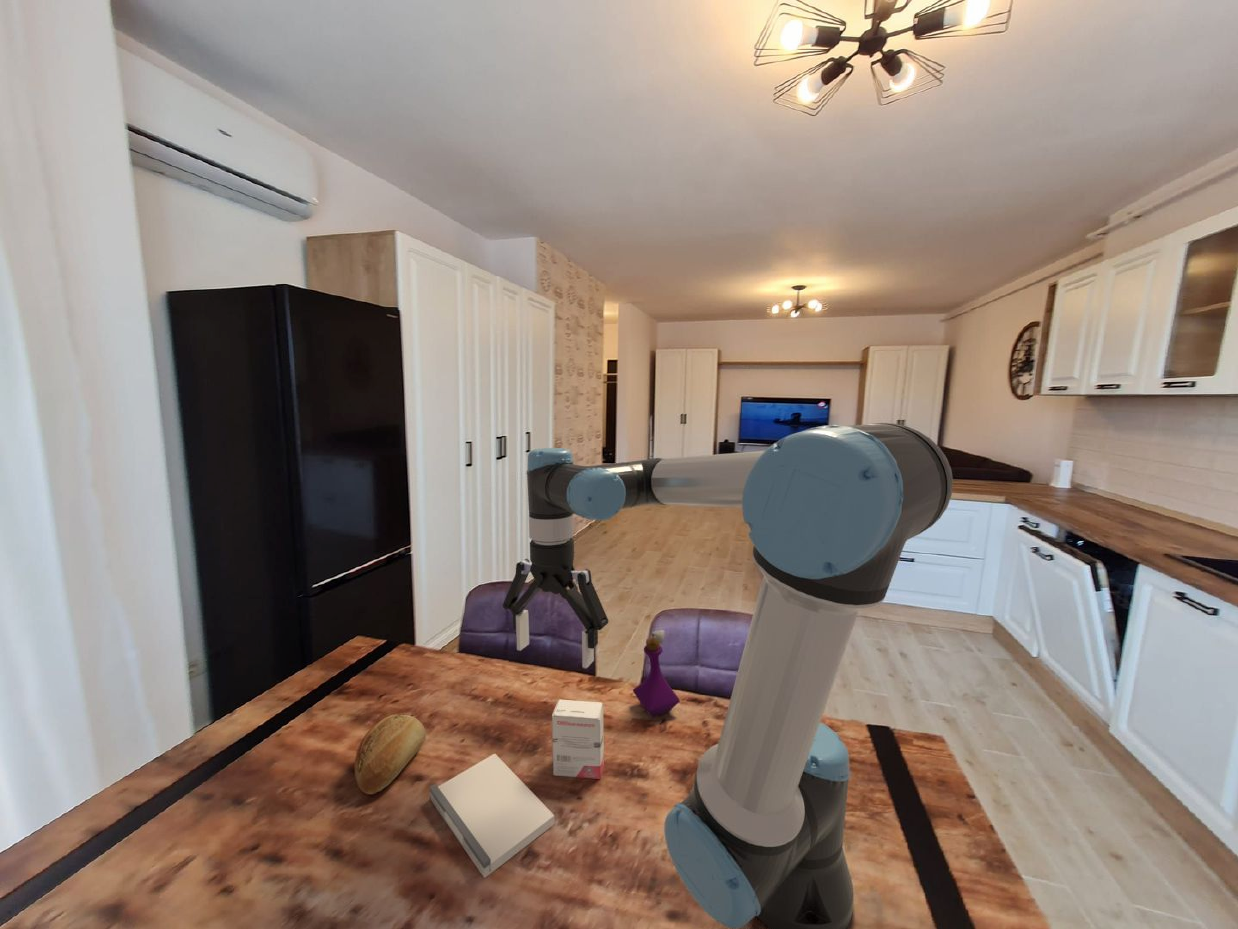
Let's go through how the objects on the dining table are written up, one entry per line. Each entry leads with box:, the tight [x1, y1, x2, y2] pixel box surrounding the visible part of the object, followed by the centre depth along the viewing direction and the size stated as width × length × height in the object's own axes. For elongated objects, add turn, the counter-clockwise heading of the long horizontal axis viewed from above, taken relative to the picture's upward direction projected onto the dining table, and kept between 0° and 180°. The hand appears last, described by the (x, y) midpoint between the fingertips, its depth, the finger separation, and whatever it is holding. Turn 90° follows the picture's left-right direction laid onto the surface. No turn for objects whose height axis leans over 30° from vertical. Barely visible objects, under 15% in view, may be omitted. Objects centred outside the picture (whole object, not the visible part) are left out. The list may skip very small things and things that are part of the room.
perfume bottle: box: [632, 629, 681, 718], centre depth 99 cm, size 8×8×18 cm
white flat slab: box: [429, 753, 555, 879], centre depth 76 cm, size 18×12×2 cm
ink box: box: [551, 698, 605, 780], centre depth 84 cm, size 9×5×12 cm, turn 84°
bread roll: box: [354, 713, 427, 795], centre depth 84 cm, size 10×15×8 cm, turn 174°
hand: (554, 655), depth 83 cm, fingers open, 13 cm apart
